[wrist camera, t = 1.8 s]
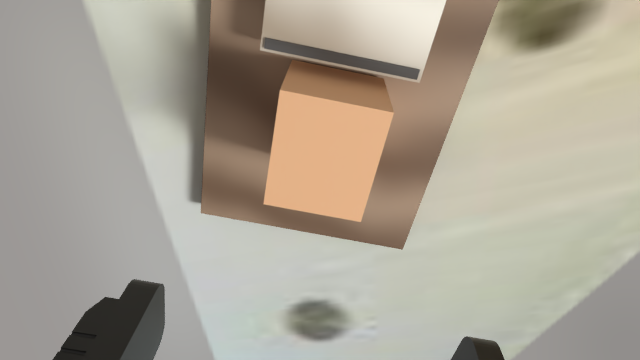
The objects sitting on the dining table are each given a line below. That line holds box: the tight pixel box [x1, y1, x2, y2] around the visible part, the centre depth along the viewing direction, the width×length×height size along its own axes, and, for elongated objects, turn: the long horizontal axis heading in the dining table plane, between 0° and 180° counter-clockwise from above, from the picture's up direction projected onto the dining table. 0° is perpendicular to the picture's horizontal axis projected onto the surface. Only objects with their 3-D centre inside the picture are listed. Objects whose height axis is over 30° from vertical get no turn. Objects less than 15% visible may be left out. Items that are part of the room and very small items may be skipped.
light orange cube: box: [263, 60, 394, 222], centre depth 21 cm, size 6×5×5 cm
